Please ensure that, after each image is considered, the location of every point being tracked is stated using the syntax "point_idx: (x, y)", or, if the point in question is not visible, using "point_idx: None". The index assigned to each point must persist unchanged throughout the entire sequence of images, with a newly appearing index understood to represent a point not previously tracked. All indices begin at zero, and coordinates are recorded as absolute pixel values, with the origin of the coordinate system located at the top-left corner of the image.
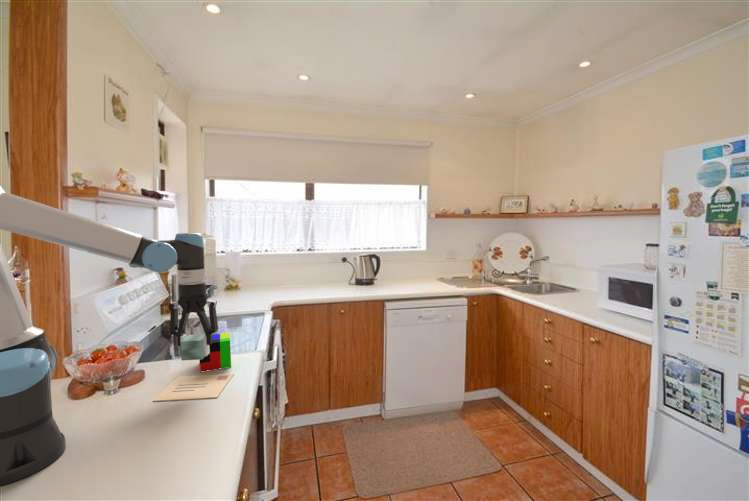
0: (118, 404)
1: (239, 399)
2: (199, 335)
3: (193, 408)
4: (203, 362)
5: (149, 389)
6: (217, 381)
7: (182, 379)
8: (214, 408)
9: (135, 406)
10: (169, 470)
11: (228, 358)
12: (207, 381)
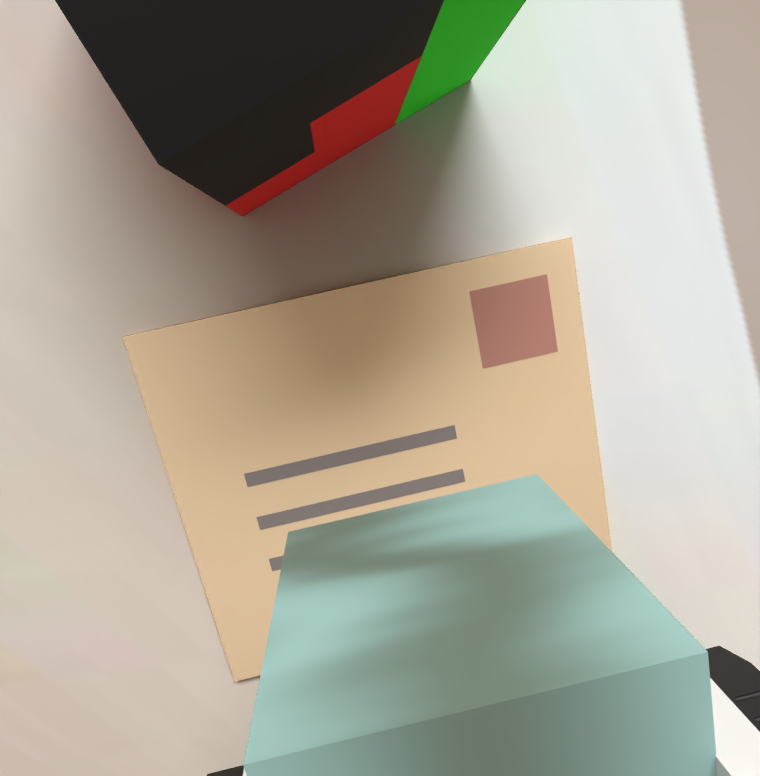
0: (41, 731)
1: (752, 580)
2: (539, 762)
3: None
4: (256, 186)
5: (62, 544)
6: (507, 389)
7: (200, 385)
8: None
9: (173, 732)
10: None
11: (477, 54)
12: (429, 396)
